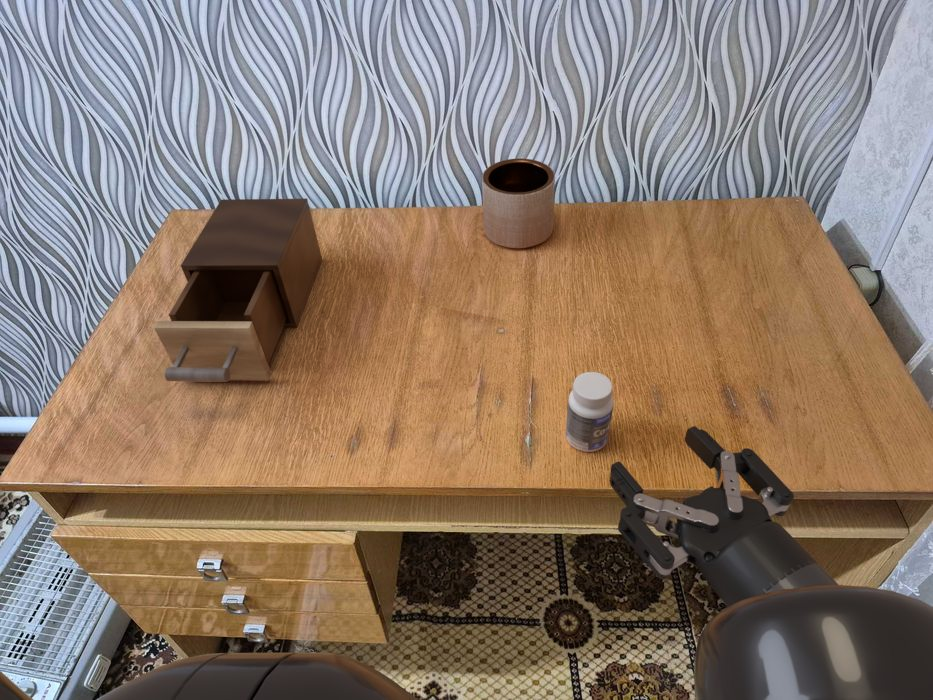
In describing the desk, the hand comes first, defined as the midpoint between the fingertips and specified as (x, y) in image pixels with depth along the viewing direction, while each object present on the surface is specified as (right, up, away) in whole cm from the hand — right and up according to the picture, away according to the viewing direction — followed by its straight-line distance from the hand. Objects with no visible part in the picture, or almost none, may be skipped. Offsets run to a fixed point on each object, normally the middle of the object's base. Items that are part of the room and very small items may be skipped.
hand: (651, 450), depth 62 cm
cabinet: (-46, +18, +34) cm, 60 cm away
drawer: (-47, +9, +24) cm, 53 cm away
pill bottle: (-4, 0, +12) cm, 13 cm away
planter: (-9, +28, +42) cm, 51 cm away
